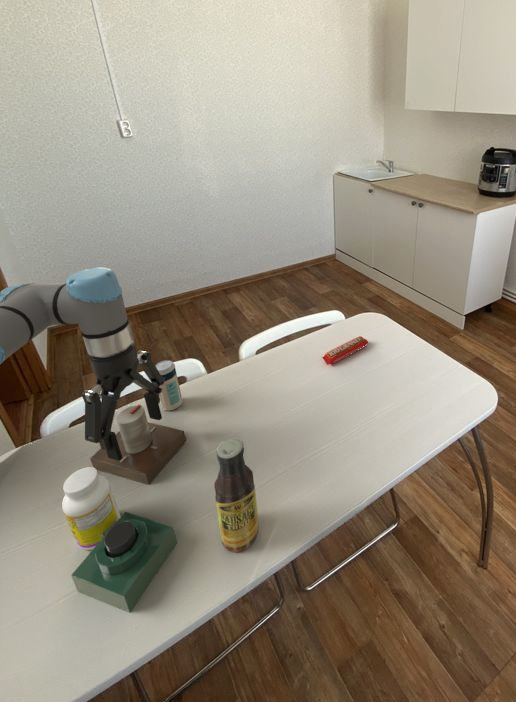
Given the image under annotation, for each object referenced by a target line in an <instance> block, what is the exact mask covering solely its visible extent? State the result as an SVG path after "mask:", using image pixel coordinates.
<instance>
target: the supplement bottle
mask: <svg viewBox="0 0 516 702" xmlns="http://www.w3.org/2000/svg"><path fill="white" fill-rule="evenodd" d="M62 488H63V492H64V497H63V498H62V503H61V508H62V512H63V514H64V515H65V518H66V521H67V524H68V526H69V528H70V531H71V533H72V536H73V538H74V540H75V542H76V544H77V546H78V547H79V549H81V550H85V551H92V550H93V549H94V548H95V547H96V546H97V544H98V543H99V542H100V541H101V539H102V538H103V537H104V536H105V535H106V534H107V532H108V531H109V530H110V529H111V528H112V527H113V526H114V525H115V523H116V522H117V521H118V520H119V519H120V518H121V516H122V515H121V513H120V509H119V507H118V504H117V501H116V498H115V495H114V492H113V490H112V487H111V483H110V481H109V480H108V478H107V477H106V476H104V475H100V474H99V472H98V470H96V469H95V468H94V467H93V466H85V467H82V468H80V469H78V470H76V471H74V472H73V473H72V474H70V475H69V476H68V477H67V479H66V480H65V481H64V483H63V486H62Z"/></svg>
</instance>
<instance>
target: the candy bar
mask: <svg viewBox="0 0 516 702" xmlns="http://www.w3.org/2000/svg"><path fill="white" fill-rule="evenodd" d="M368 342H369V340H368V339H366V338H364V337H363V336H361V335H360V336H357V337H355V338H352V339H350V340H348V341H346V342H344V343H342V344H340V345H339V346H336V347H335V348H333V349H331V350H329V351H327V352H326V353H325V354H324V355H323V356H321V358H322V359H323V361H324V362H325V364H326V365H327V366H329V365H330V364H331V365H334V364H336V363H338V362H340V361H342V360H344V359H345V358H344V357H346V356H347V357H349V356H351V355H352V354H351V353H353V352H355V351H357V350H358V349H360V348H362V347H363V346H365V345H366V344H367V343H368ZM367 345H368V344H367ZM367 345H366V346H367ZM366 346H365V347H366ZM362 349H363V348H362ZM357 352H358V351H357ZM355 353H356V352H355ZM350 354H351V355H350ZM353 354H354V353H353ZM348 355H349V356H348ZM347 357H346V358H347ZM343 358H344V359H343ZM341 359H342V360H341ZM339 360H340V361H339ZM337 361H338V362H337ZM335 362H336V363H335ZM333 363H334V364H333Z"/></svg>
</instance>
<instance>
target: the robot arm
mask: <svg viewBox="0 0 516 702" xmlns="http://www.w3.org/2000/svg"><path fill="white" fill-rule="evenodd" d="M75 324H77V325H78V328H79V331H80V334H81V336H82V339H83V342H84V345H85V349H86V352H87V354H88V360H89V362H90V366H91V370H92V372H93V373H94V374H95V376H96V382H95V383H96V384H95V386H93V387H92V388H90V390H88V389H86V390H83V392H82V393H81V397H82V399H83V402H84V440H85V441H86V442H89V443H94V444H99V446H100V447H99V448H100V449H102V450H106V452H107V455H108V458H111V459H114V460H118V461H120V460H121V459H122V455H121V451H120V448H119V445H118V442H117V438H116V433H115V432H114V431H112V428H113V427H112V426H113V423H114V417H115V412H116V408H117V407H116V406H117V404H118V401H119V400H120V398H121V395H122V392H123V391H124V390H125V389H126V388H127V387H129V386H131V385H132V384H135V385H136V386H138V387H139V388H141V389H143V390H144V391H146V392H144V393H143V398H144V402H145V405H146V408H147V414H148V418H149V419H151V420H156V421H161V420H162V419H163V415H162V412H161V407H160V404H161V401H160V397H159V394H160V393H161V392H162V388H159V387H160V385H163V384H164V382H165V381H164V379H163V377H162V376H161V374H160V373H159V371H158V370H157V368H156V366H155V365H156V364H155V363H154V362H153V359H152V354H151V352H149V351H144V350H138V351H137V347H136V343H135V341H134V335H133V330H132V328H131V324H130V321H129V317H128V315H127V311H126V307H125V302H124V298H123V290H122V287H121V286H120V282H119V280H118V277H117V274H116V273H115V271H114V270H113V269H111V268H108V267H101V266H99V267H93V268H86V269H82V270H79V271H76V272H73V273H72V274H71V275H69V276H67V279H66V280H65V282H58V283H54V282H53V283H52V282H51V283H34V282H32V283H23V284H16V285H10V286H7V287H5V288H4V289H2V290H1V291H0V365H1V364H2V363H4V362H5V361H6V360H8V358H9V357H11V356H12V355H13V354H15V353H16V352H17V351H18V350H19V349H21V348H23V346H25V345H26V344H29V342H30V341H32V340H33V339H35V338H36V337H37V336H38V335H40V334H41V333H42V332H44V331H46V329H48V328H49V327H52V326H67V325H75ZM139 366H140V369H142V371H143V372H144V374H145V375H146V377H147V378H148V379H147V378H146V377H144V376H143V375H142V374H141V373H140V372H138V368H139Z"/></svg>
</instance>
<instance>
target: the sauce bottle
mask: <svg viewBox="0 0 516 702" xmlns="http://www.w3.org/2000/svg"><path fill="white" fill-rule="evenodd" d="M244 455H245V446H244V442H243V441H242V439H240V438H239V437H230V438H227V439H225V440H223V441H222V442H220V444H219V445H218V447H217V448H216V459H217V461H218V463H219V471H218V473H217V478H216V480H215V481H214V492H215V496H214V498H215V505H216V512H217V520H218V526H219V535H220V539H221V542H222V543H221V544H222V545H223V548H224V549H225V550H227V551H228V552H232V553H240V552H243V551H245V550H247V549H248V548H249V547H250V546H251V545H252V544H253V543H254V542H255V540H256V539H257V535H258V531H259V516H258V515H259V514H258V503H257V494H256V486H255V481H254V472H253V470H252V469H251V468H250V467H249V466H248V465H247V464H246V461H245V456H244Z"/></svg>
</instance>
